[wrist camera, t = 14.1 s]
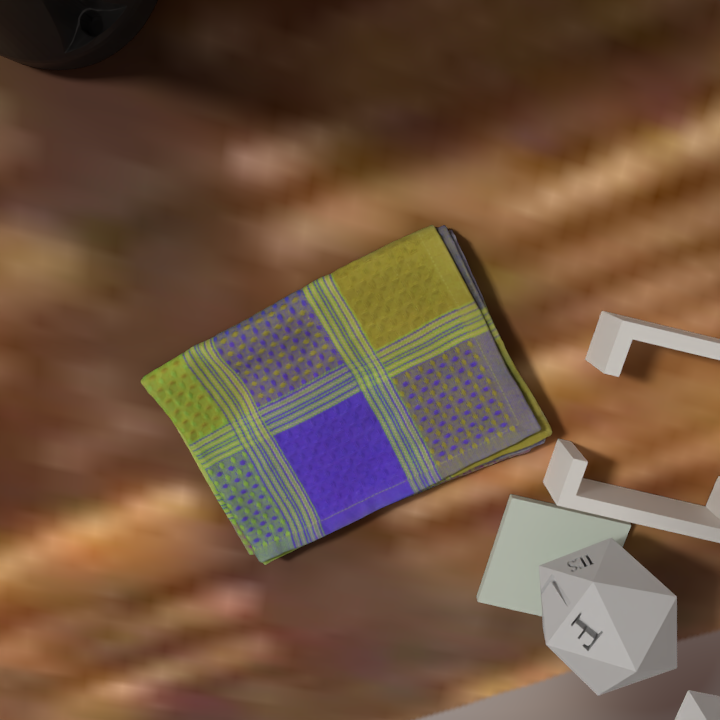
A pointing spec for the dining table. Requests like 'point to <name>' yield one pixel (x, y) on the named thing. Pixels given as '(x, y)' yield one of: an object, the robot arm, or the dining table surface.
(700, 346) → the pocket
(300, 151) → the dining table surface
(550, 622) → the die
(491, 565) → the mat
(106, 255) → the dining table surface
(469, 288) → the dish towel
